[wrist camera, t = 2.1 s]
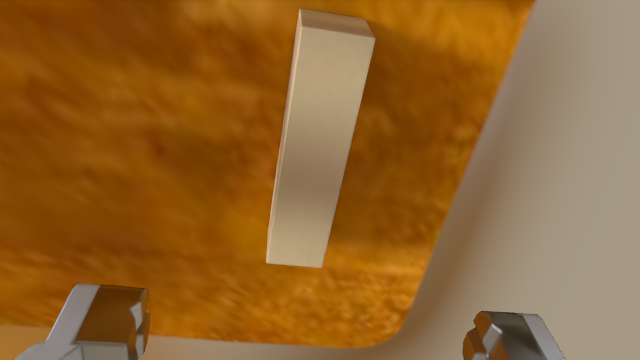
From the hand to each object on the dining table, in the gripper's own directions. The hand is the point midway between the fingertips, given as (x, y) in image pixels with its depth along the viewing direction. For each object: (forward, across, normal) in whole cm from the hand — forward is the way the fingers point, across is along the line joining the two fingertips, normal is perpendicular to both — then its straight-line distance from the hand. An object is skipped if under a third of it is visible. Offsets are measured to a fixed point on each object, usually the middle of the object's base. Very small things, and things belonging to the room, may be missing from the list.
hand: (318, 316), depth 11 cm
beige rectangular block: (+9, 0, 0) cm, 9 cm away
